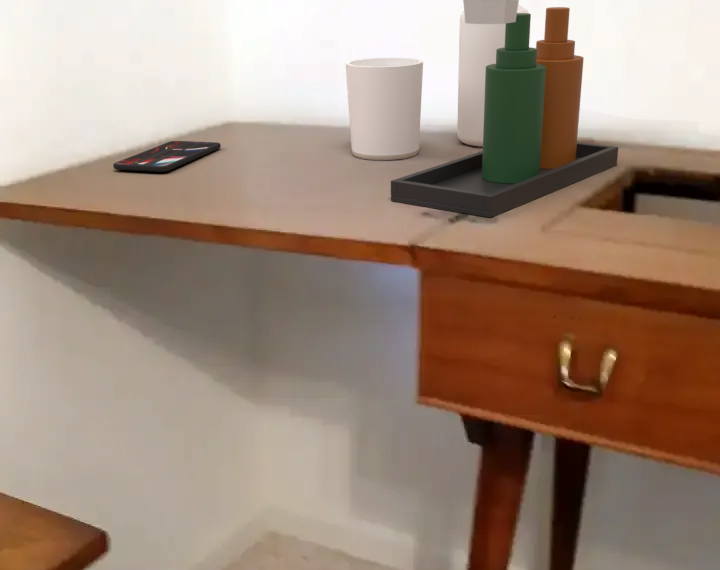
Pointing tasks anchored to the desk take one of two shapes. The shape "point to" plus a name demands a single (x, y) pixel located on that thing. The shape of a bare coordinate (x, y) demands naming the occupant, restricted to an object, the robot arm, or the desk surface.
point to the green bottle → (513, 108)
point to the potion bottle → (476, 74)
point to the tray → (484, 198)
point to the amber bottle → (559, 90)
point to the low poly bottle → (490, 11)
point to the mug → (384, 107)
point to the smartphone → (167, 156)
